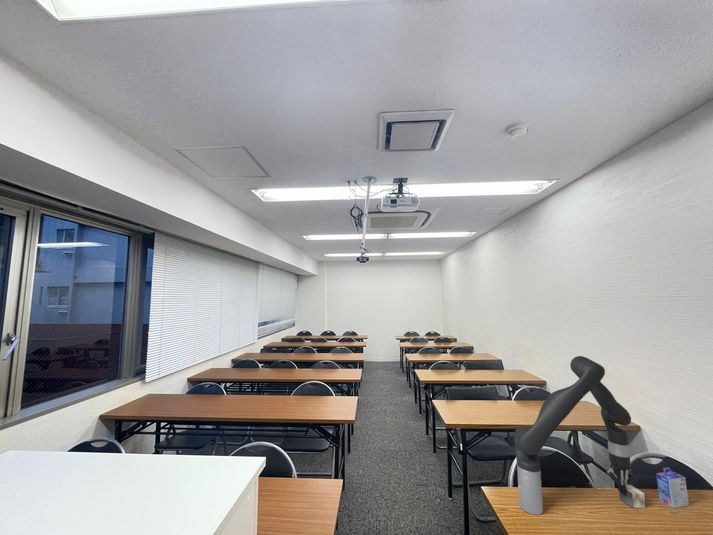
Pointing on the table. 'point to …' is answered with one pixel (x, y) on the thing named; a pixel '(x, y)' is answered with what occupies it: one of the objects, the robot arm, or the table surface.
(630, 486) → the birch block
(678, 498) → the ink cartridge box
